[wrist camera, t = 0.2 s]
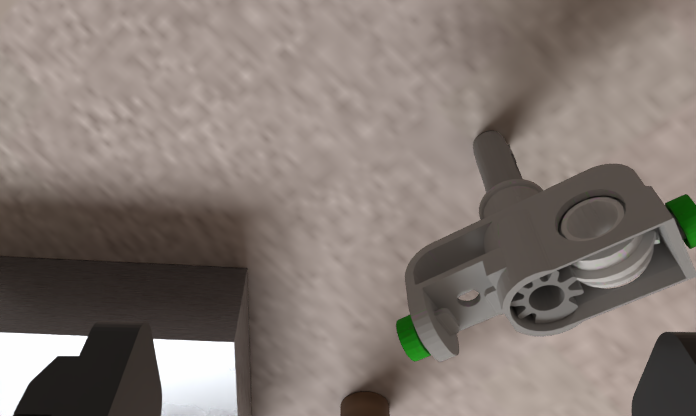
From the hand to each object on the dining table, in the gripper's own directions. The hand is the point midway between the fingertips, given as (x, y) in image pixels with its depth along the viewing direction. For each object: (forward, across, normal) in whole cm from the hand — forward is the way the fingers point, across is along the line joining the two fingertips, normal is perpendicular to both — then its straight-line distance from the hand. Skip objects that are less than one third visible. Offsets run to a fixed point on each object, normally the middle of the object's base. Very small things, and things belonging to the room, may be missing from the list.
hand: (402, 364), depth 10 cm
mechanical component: (+18, -6, +5) cm, 20 cm away
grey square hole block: (+19, +12, +20) cm, 30 cm away
